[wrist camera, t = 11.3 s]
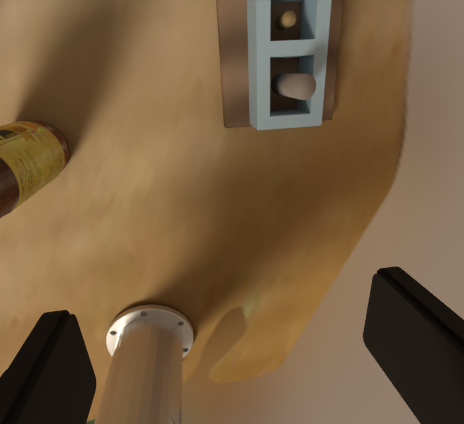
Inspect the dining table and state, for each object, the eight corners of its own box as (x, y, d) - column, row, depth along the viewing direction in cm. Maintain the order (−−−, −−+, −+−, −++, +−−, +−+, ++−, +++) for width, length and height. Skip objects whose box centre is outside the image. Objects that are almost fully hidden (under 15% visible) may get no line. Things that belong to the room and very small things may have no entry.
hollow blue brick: (306, 119, 32) (321, 125, 29) (249, 124, 32) (257, 130, 28) (314, -15, 27) (333, -28, 24) (246, -13, 27) (255, -26, 23)
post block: (326, 118, 34) (366, 130, 27) (223, 125, 33) (235, 141, 25) (339, -34, 28) (395, -74, 21) (214, -31, 27) (225, -73, 19)
